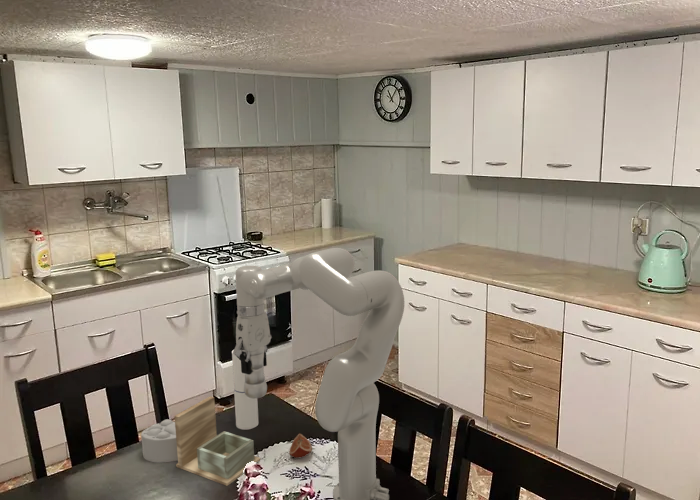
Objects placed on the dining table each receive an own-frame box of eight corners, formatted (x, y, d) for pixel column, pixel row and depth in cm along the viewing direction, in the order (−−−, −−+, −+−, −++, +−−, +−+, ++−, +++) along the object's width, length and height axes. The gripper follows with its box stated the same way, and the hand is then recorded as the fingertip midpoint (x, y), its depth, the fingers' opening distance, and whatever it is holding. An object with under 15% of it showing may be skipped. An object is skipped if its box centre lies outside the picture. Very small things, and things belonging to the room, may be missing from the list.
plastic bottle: (262, 402, 164) (259, 335, 160) (240, 400, 165) (236, 334, 161) (270, 392, 170) (267, 328, 166) (249, 391, 171) (245, 327, 168)
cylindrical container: (233, 421, 188) (229, 349, 183) (255, 416, 191) (251, 345, 186) (239, 431, 181) (234, 356, 176) (261, 426, 184) (257, 352, 179)
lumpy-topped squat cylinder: (187, 460, 166) (184, 432, 164) (140, 464, 163) (137, 437, 162) (190, 441, 176) (188, 415, 174) (146, 446, 174) (143, 419, 172)
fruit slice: (290, 448, 171) (289, 432, 170) (312, 447, 171) (312, 431, 170) (288, 463, 163) (288, 447, 162) (312, 462, 163) (311, 446, 162)
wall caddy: (260, 460, 164) (258, 409, 161) (227, 486, 153) (223, 431, 150) (211, 444, 174) (207, 395, 171) (176, 466, 162) (172, 415, 159)
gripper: (240, 319, 153) (244, 382, 157) (280, 303, 168) (282, 361, 171) (219, 315, 157) (223, 377, 161) (260, 300, 172) (263, 357, 175)
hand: (254, 368), depth 166 cm, fingers closed on plastic bottle, 6 cm apart
